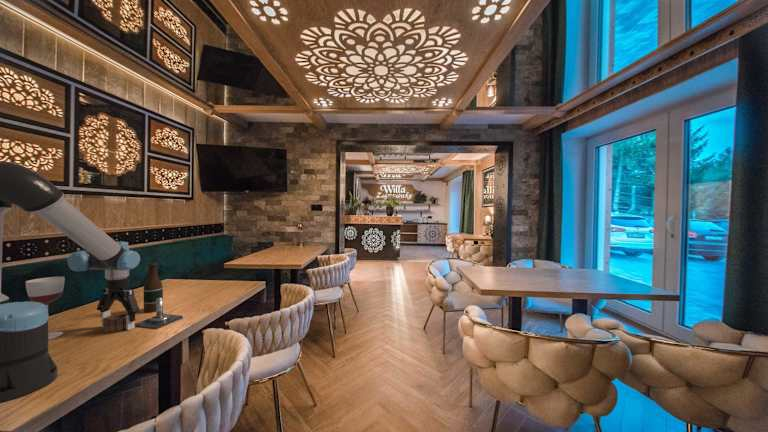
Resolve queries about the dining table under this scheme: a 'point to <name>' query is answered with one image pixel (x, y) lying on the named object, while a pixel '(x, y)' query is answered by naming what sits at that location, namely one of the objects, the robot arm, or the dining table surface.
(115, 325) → the ring
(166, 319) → the post
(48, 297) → the wineglass
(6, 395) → the robot arm
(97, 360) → the dining table surface
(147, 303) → the beer bottle
